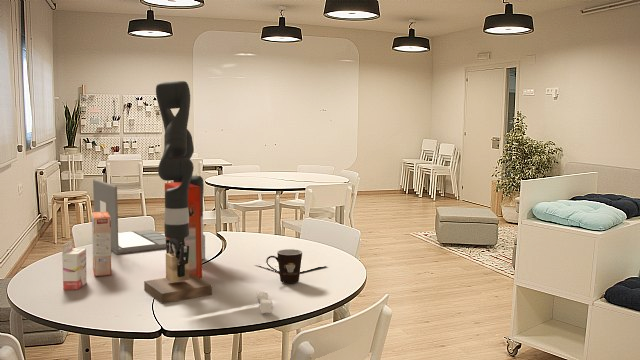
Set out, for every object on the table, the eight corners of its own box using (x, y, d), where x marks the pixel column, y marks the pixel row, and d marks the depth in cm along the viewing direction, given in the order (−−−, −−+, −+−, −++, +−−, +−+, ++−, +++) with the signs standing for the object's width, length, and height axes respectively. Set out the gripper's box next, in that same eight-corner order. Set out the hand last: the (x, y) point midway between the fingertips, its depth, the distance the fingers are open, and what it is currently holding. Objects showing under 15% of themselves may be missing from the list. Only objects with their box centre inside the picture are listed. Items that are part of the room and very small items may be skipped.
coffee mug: (305, 278, 193) (306, 250, 192) (296, 285, 185) (296, 255, 184) (275, 275, 197) (275, 247, 196) (265, 281, 189) (265, 252, 188)
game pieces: (272, 313, 158) (272, 302, 158) (260, 314, 158) (260, 303, 157) (267, 300, 170) (267, 290, 170) (256, 300, 169) (256, 290, 169)
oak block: (182, 275, 179) (182, 251, 179) (189, 279, 175) (188, 254, 174) (165, 278, 176) (165, 253, 175) (172, 282, 172) (171, 257, 171)
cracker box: (112, 275, 195) (111, 216, 193) (94, 277, 192) (92, 217, 190) (109, 266, 207) (108, 210, 205) (92, 267, 205) (90, 211, 203)
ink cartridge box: (78, 289, 177) (77, 244, 176) (62, 290, 177) (61, 244, 176) (87, 282, 186) (86, 239, 185) (72, 282, 186) (70, 239, 184)
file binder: (178, 281, 188) (177, 187, 185) (165, 269, 203) (164, 182, 200) (202, 278, 192) (201, 186, 189) (187, 267, 207) (186, 181, 204)
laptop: (178, 248, 239) (177, 183, 237) (115, 256, 224) (114, 186, 221) (151, 234, 268) (150, 176, 265) (94, 241, 252) (92, 179, 249)
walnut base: (191, 282, 187) (191, 273, 187) (211, 294, 174) (211, 285, 174) (144, 290, 178) (144, 281, 177) (162, 303, 165) (161, 293, 165)
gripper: (197, 223, 170) (197, 277, 172) (179, 217, 182) (180, 267, 183) (173, 226, 166) (174, 281, 167) (157, 219, 177) (158, 271, 179)
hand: (177, 274), depth 175 cm, fingers closed on oak block, 5 cm apart
